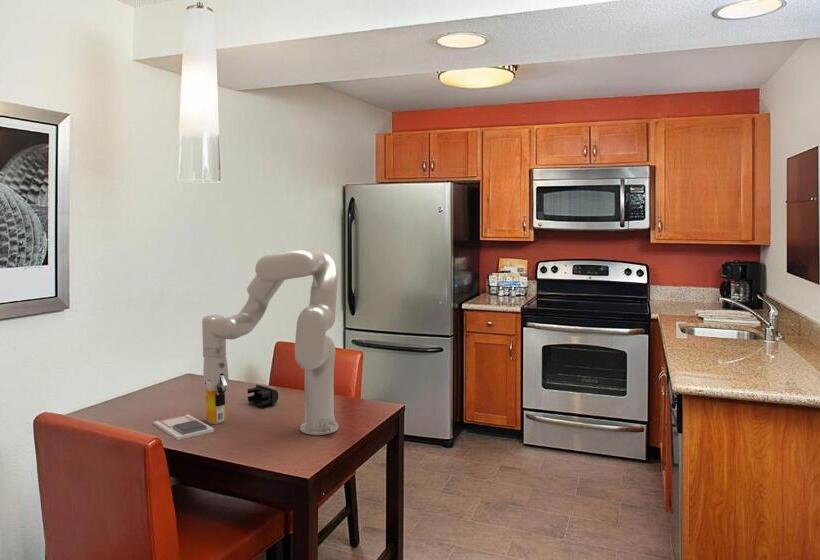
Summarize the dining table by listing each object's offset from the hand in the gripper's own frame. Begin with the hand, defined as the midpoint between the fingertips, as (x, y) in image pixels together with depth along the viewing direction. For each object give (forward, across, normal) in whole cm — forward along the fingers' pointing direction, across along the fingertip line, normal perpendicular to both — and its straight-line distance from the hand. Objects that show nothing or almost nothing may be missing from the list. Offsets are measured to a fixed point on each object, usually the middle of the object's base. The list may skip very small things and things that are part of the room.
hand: (215, 402), depth 210 cm
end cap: (+7, +7, -22) cm, 24 cm away
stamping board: (+7, +1, +11) cm, 13 cm away
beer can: (+7, 0, 0) cm, 7 cm away
